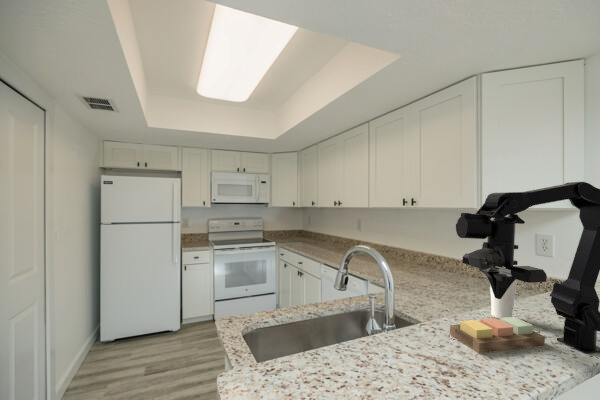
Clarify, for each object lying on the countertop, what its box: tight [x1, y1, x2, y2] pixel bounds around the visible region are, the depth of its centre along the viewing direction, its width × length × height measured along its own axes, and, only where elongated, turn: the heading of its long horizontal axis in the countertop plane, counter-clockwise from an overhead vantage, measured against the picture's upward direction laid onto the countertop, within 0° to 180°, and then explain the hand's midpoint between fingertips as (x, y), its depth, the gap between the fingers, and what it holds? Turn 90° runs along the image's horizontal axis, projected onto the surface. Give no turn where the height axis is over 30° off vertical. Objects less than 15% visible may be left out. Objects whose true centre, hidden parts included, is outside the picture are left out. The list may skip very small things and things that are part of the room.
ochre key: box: [460, 319, 493, 339], centre depth 69 cm, size 5×5×3 cm
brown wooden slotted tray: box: [449, 324, 546, 354], centre depth 70 cm, size 21×9×2 cm, turn 103°
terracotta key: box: [479, 317, 513, 337], centre depth 70 cm, size 5×5×3 cm
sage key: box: [499, 316, 534, 335], centre depth 72 cm, size 5×5×3 cm
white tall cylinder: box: [489, 279, 518, 320], centre depth 84 cm, size 7×7×15 cm
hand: (498, 298), depth 70 cm, fingers closed
